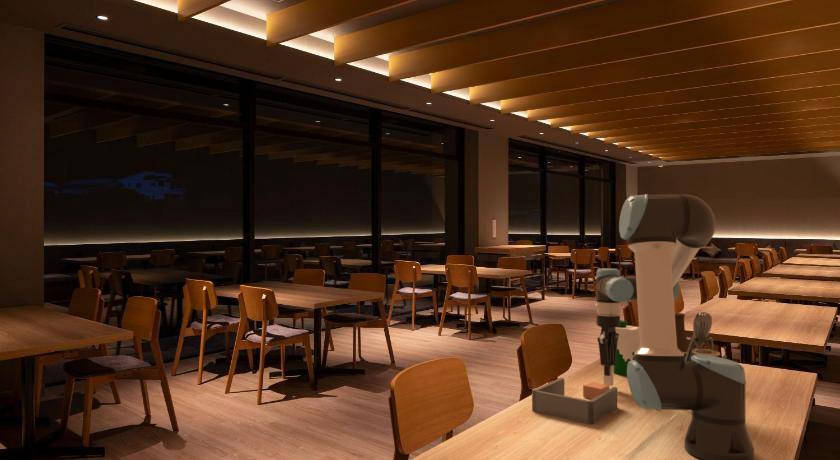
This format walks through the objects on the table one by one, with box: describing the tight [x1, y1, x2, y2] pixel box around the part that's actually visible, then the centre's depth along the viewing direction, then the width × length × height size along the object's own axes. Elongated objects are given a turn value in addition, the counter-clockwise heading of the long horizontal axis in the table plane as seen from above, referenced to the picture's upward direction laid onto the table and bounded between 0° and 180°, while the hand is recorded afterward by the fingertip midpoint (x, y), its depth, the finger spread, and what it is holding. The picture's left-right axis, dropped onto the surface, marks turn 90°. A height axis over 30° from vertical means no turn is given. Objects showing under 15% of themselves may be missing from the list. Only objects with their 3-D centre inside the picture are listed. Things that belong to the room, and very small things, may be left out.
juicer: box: [685, 311, 715, 362], centre depth 168 cm, size 10×11×30 cm
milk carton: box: [613, 319, 640, 377], centre depth 207 cm, size 9×9×20 cm
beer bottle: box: [675, 312, 692, 362], centre depth 200 cm, size 8×8×24 cm
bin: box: [531, 377, 618, 425], centre depth 168 cm, size 19×18×6 cm
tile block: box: [582, 381, 610, 400], centre depth 180 cm, size 6×6×4 cm
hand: (608, 384), depth 188 cm, fingers closed
